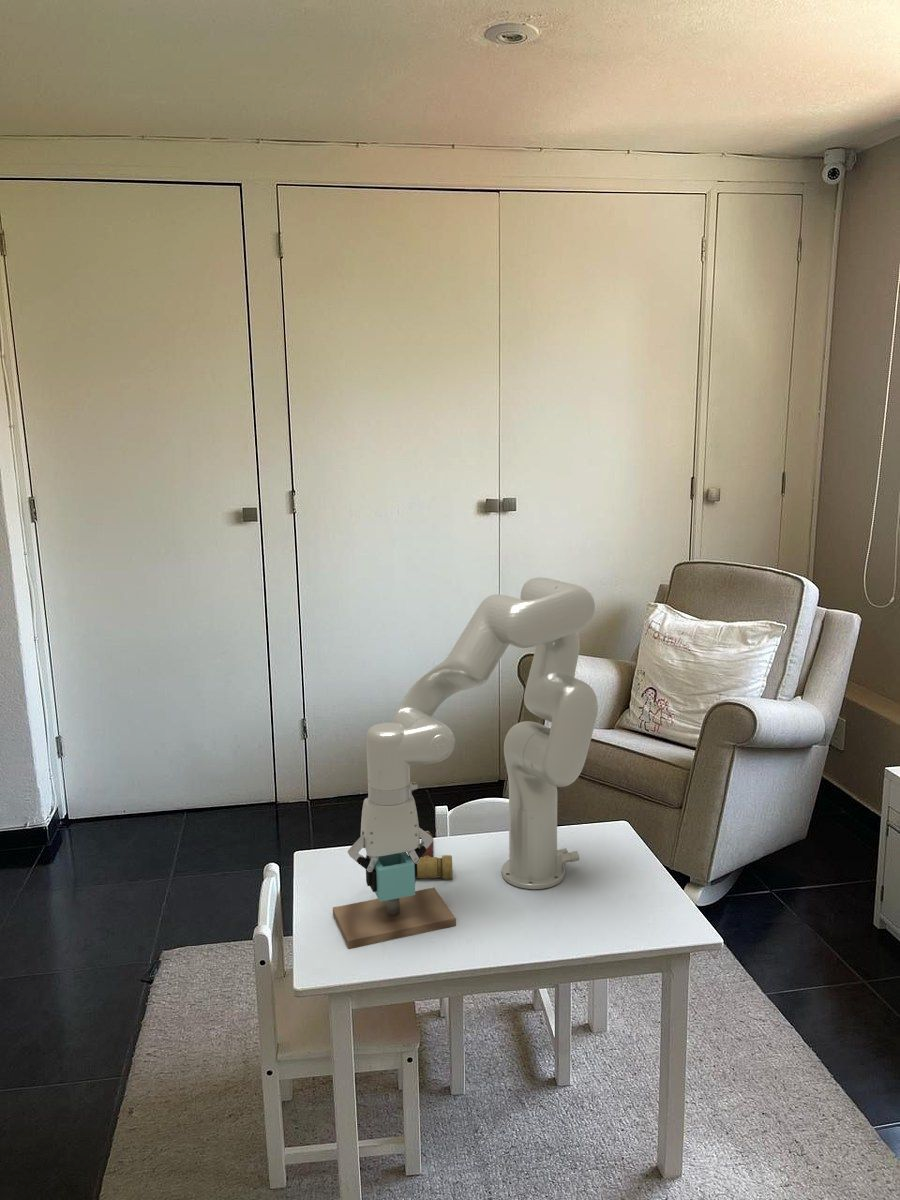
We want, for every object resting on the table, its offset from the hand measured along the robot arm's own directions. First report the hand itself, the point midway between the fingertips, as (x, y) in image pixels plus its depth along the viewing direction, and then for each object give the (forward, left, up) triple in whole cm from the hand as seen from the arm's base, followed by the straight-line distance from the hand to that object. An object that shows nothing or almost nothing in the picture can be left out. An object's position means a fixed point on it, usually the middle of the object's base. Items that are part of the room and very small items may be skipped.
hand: (392, 883), depth 169 cm
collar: (0, 0, -1) cm, 1 cm away
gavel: (-14, -21, -8) cm, 26 cm away
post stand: (0, 0, -7) cm, 7 cm away
